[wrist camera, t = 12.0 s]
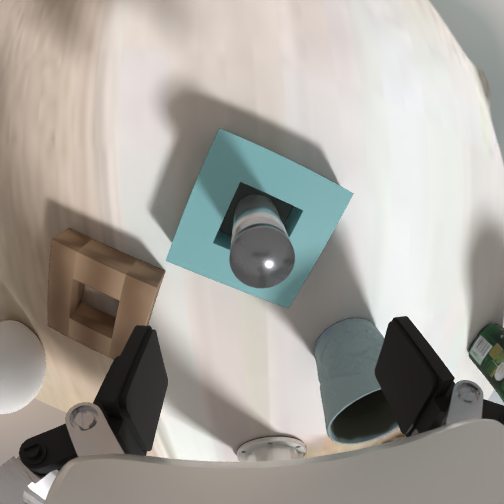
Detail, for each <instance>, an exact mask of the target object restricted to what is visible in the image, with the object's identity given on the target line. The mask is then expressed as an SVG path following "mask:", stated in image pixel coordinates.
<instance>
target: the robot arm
mask: <svg viewBox="0 0 504 504" xmlns="http://www.w3.org/2000/svg"><path fill="white" fill-rule="evenodd" d="M375 377H376V379H377V381H378V383H379V385H380V387H381V389H382V391H383V393H384V395H385V397H386V400H387V402H388V404H389V406H390V408H391V410H392V412H393V414H394V417H395V419H396V421H397V423H398V425H399V428H400V430H401V432H402V433H403V434H406V436H407V437H406V438H403V439H399V440H396V441H392V442H388V443H385V444H381V445H377V446H372V447H368V448H363V449H359V450H354V451H348V452H343V453H337V454H331V455H325V456H318V457H310V458H304V457H303V456H304V455H305V453H306V447H305V445H304V443H303V442H301V441H300V440H297V439H294V438H290V437H265V438H260V439H256V440H252V441H249V442H247V443H245V444H243V445H242V446H241V447H239V449H238V450H237V458H238V460H239V461H240V462H213V461H195V460H180V459H169V458H160V457H152V456H146V453H147V451H151V449H152V446H153V441H154V437H155V433H156V429H157V425H158V421H159V417H160V413H161V409H162V405H163V401H164V397H165V393H166V390H167V385H168V378H167V374H166V370H165V367H164V363H163V359H162V355H161V351H160V346H159V342H158V338H157V333H156V331H155V330H152V328H151V326H144V325H136V326H135V327H134V329H133V331H132V333H131V335H130V337H129V339H128V341H127V343H126V345H125V347H124V349H123V351H122V353H121V355H120V356H117V357H116V358H115V359H114V361H113V363H112V365H111V367H110V369H109V371H108V373H107V375H106V377H105V379H104V381H103V383H102V385H101V387H100V390H99V392H98V394H97V396H96V398H95V400H94V402H93V403H89V402H83V403H78V404H76V405H74V406H73V407H72V408H70V409H69V411H68V412H67V414H66V418H65V422H66V424H63V425H61V426H59V427H56V428H54V429H52V430H49V431H47V432H44V433H42V434H39V435H37V436H34V437H32V438H30V439H27V440H26V441H25V442H24V443H23V444H22V445H21V447H20V451H19V457H18V458H16V457H15V456H14V457H12V458H11V459H9V460H8V461H7V462H6V463H4V464H3V465H1V466H0V504H504V406H503V405H500V404H497V403H493V402H491V401H488V400H485V399H483V392H482V390H481V388H480V387H479V386H478V385H477V384H476V383H474V382H472V381H468V380H462V381H459V382H457V383H456V384H455V383H454V381H453V380H454V377H453V375H452V374H451V372H450V371H449V370H448V368H447V367H446V366H445V364H444V363H443V362H442V360H441V359H440V358H439V356H438V355H437V354H436V352H435V351H434V350H433V348H432V347H431V346H430V344H429V343H428V342H427V341H426V339H425V338H424V337H423V335H422V334H421V333H420V332H419V330H418V329H417V328H416V327H415V325H414V324H413V323H412V322H411V320H410V319H409V318H408V317H407V316H403V317H395V318H393V320H392V321H391V322H389V324H388V328H387V331H386V335H385V338H384V342H383V345H382V348H381V351H380V355H379V358H378V361H377V364H376V367H375Z"/></svg>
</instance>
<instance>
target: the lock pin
mask: <svg viewBox="0 0 504 504" xmlns="http://www.w3.org/2000/svg"><path fill="white" fill-rule="evenodd" d="M229 262H230V267H231V270H232V272H233V274H234V275H235V277H236V278H237V279H238V280H239V281H241V282H242V283H244V284H245V285H247V286H250V287H253V288H269V287H273V286H276V285H278V284H279V283H281V282H282V281H284V280H285V279H286V278H287V277H288V276H289V274H290V273H291V271H292V269H293V267H294V263H295V252H294V248H293V246H292V244H291V241H290V239H289V237H288V234H287V232H286V230H285V227H284V225H283V223H282V221H281V218H280V216H279V214H278V212H277V209H276V207H275V205H274V204H273V202H272V201H271V200H270V199H268V198H267V197H265V196H262V195H250V196H247V197H245V198H243V199H242V200H241V201H240V202H239V203H238V205H237V206H236V209H235V212H234V221H233V229H232V238H231V247H230V257H229Z"/></svg>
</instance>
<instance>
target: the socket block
mask: <svg viewBox="0 0 504 504" xmlns="http://www.w3.org/2000/svg"><path fill="white" fill-rule="evenodd" d="M240 182H242V183H244V184H247V185H249V186H251V187H254V188H256V189H258V190H260V191H262V192H265V193H267V194H269V195H271V196H273V197H276V198H278V199H280V200H282V201H284V202H286V203H289V204H291V205H293V208H292V210H291V212H290V214H289V216H288V218H287V220H286V222H285V224H284V227H285V230H286V232H287V234H288V237H289V239H290V241H291V244H292V246H293V248H294V252H295V263H294V267H293V269H292V271H291V273H290V274H289V276H288V277H287V278H286V279H285V280H284V281H282V282H281V283H279V284H278V285H276V286H273V287H269V288H253V287H250V286H247V285H245V284H244V283H242V282H241V281H239V280H238V279H237V278H236V277H235V275H234V274H233V272H232V270H231V267H230V262H229V257H230V247H231V238H232V236H230V235H227V234H225V233H223V232H220V231H218V230H219V228H220V226H221V223H222V221H223V219H224V217H225V214H226V212H227V210H228V208H229V205H230V203H231V201H232V199H233V197H234V194H235V192H236V190H237V188H238V186H239V183H240ZM353 194H354V193H352V192H350V191H348V190H347V189H345V188H343V187H341V186H339V185H338V184H336V183H334V182H332V181H330V180H328V179H326V178H325V177H323V176H321V175H319V174H317V173H315V172H313V171H311V170H309V169H307V168H305V167H303V166H301V165H299V164H297V163H295V162H293V161H291V160H289V159H287V158H285V157H283V156H281V155H279V154H277V153H274V152H272V151H270V150H268V149H266V148H264V147H261V146H259V145H257V144H255V143H253V142H250V141H248V140H246V139H243V138H241V137H239V136H237V135H234V134H232V133H229V132H227V131H225V130H222V129H220V128H219V130H218V132H217V135H216V137H215V139H214V141H213V143H212V146H211V148H210V150H209V152H208V155H207V157H206V159H205V161H204V164H203V166H202V168H201V171H200V173H199V176H198V178H197V180H196V183H195V185H194V188H193V190H192V193H191V195H190V198H189V200H188V203H187V205H186V208H185V210H184V213H183V215H182V218H181V221H180V223H179V226H178V228H177V231H176V234H175V237H174V239H173V242H172V245H171V248H170V250H169V253H168V256H167V259H166V261H168V262H170V263H173V264H175V265H177V266H180V267H182V268H185V269H187V270H190V271H192V272H195V273H197V274H200V275H202V276H205V277H207V278H210V279H212V280H215V281H217V282H220V283H222V284H225V285H228V286H230V287H233V288H235V289H238V290H240V291H243V292H246V293H248V294H251V295H254V296H256V297H259V298H262V299H264V300H267V301H270V302H272V303H275V304H278V305H281V306H283V307H286V308H289V307H290V305H291V303H292V302H293V300H294V298H295V297H296V295H297V293H298V292H299V290H300V288H301V287H302V285H303V283H304V282H305V280H306V278H307V277H308V275H309V273H310V271H311V270H312V268H313V266H314V265H315V263H316V261H317V259H318V258H319V256H320V254H321V252H322V251H323V249H324V247H325V245H326V243H327V242H328V240H329V238H330V236H331V235H332V233H333V231H334V229H335V227H336V225H337V224H338V222H339V220H340V218H341V216H342V214H343V213H344V211H345V209H346V207H347V205H348V203H349V201H350V199H351V197H352V196H353Z"/></svg>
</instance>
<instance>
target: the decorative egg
mask: <svg viewBox="0 0 504 504" xmlns="http://www.w3.org/2000/svg"><path fill="white" fill-rule="evenodd" d="M45 374H46V355H45V351H44V348H43V346H42V344H41V342H40V340H39V339H38V338H37V336H36V335H35V334H34V333H33V332H32V331H31V330H30V329H29V328H28V327H27V326H25V325H24V324H22V323H20V322H18V321H14V320H5V321H0V414H6V413H12V412H15V411H17V410H20V409H21V408H23V407H24V406H26V405H27V404H28V403H30V402H31V401H32V400H33V399H34V398H35V396H36V395H37V394H38V392H39V390H40V389H41V387H42V384H43V382H44V379H45Z"/></svg>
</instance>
